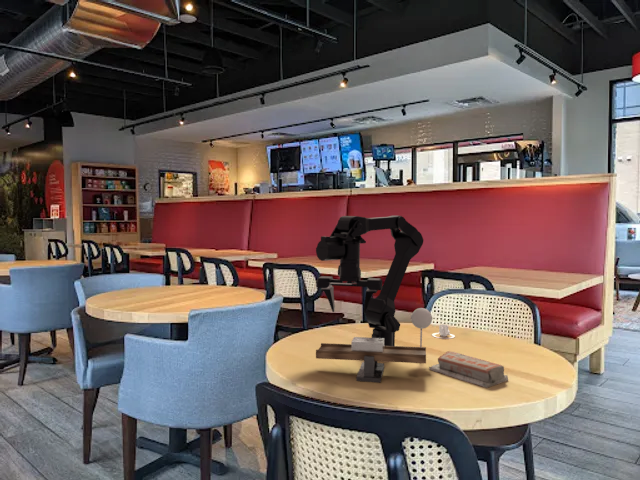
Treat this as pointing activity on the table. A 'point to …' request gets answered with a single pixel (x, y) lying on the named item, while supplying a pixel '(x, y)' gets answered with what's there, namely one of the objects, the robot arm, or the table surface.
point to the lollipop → (421, 320)
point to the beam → (372, 353)
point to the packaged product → (470, 369)
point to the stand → (370, 370)
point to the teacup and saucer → (443, 332)
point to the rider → (367, 344)
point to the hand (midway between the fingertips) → (349, 312)
